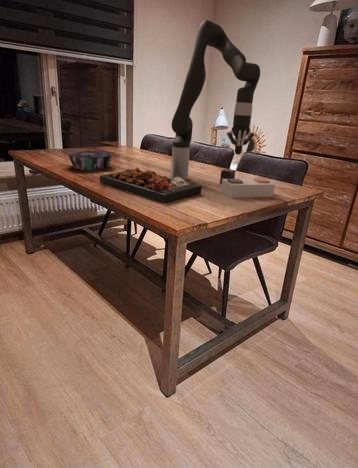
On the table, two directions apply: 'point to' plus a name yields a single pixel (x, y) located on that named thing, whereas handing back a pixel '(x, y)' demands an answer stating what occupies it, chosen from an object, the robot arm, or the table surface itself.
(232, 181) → the charcoal key
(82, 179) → the table surface
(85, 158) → the decorative bowl
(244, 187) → the key panel
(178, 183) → the food platter
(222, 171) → the box
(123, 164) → the table surface
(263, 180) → the terracotta key
